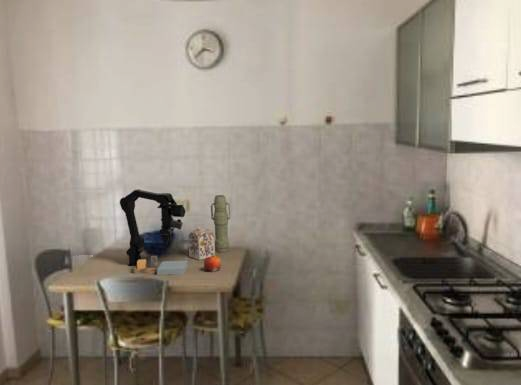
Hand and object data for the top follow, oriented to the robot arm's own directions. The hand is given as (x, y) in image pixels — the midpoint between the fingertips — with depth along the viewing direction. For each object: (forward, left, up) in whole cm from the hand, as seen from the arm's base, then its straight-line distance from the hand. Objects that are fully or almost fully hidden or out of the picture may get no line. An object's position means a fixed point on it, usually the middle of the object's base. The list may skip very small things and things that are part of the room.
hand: (167, 243), depth 275 cm
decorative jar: (+16, +20, -14) cm, 29 cm away
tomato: (+25, -9, -14) cm, 30 cm away
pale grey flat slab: (+3, -7, -13) cm, 15 cm away
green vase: (+27, +33, -14) cm, 45 cm away
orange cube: (-13, -7, -11) cm, 19 cm away
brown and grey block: (-11, -7, -14) cm, 19 cm away
